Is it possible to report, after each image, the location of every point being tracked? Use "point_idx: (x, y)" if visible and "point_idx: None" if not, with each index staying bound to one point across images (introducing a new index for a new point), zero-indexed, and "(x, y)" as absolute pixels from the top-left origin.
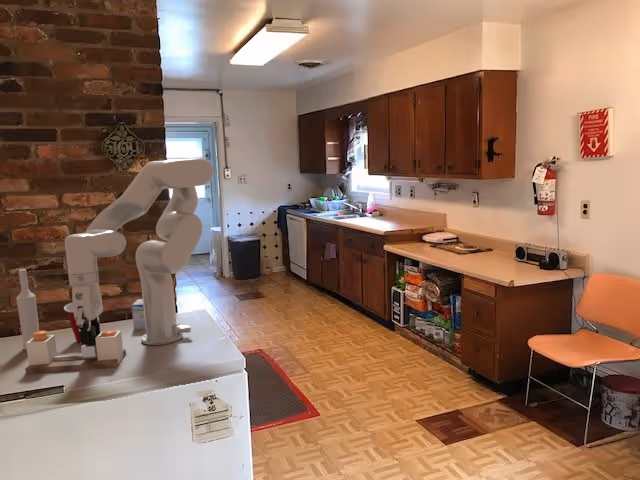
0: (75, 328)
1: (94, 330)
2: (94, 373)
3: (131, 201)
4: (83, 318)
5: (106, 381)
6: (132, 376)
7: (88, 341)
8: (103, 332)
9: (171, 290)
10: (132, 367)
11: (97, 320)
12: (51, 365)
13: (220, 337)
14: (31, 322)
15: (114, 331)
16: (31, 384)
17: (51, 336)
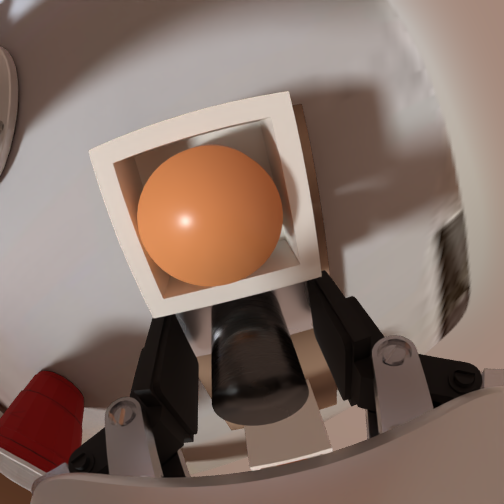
0: (79, 439)
1: (261, 350)
2: (360, 175)
3: None
4: (54, 452)
5: (423, 91)
6: (376, 9)
7: (352, 297)
8: (215, 272)
9: None
10: (289, 29)
11: (144, 425)
12: (324, 364)
13: None
14: None
15: (173, 162)
16: (408, 330)
17: (268, 465)
